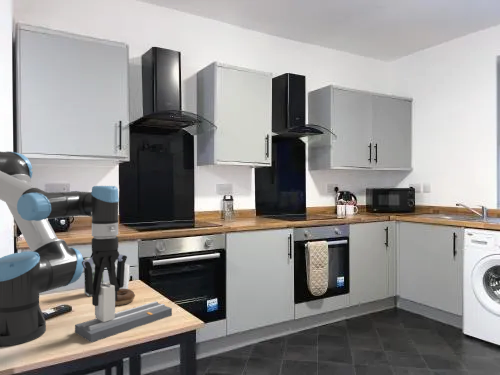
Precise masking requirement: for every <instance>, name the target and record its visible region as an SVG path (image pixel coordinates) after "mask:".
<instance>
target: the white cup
mask: <svg viewBox="0 0 500 375" xmlns="http://www.w3.org/2000/svg"><path fill="white" fill-rule="evenodd" d="M130 266H131V265H130V264H129V263H125V270H124V286H123V287H122V288H123V289H129V280H130ZM115 267H116V269H115V272H116V276H117V263H115ZM122 288H119V289H122Z"/></svg>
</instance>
